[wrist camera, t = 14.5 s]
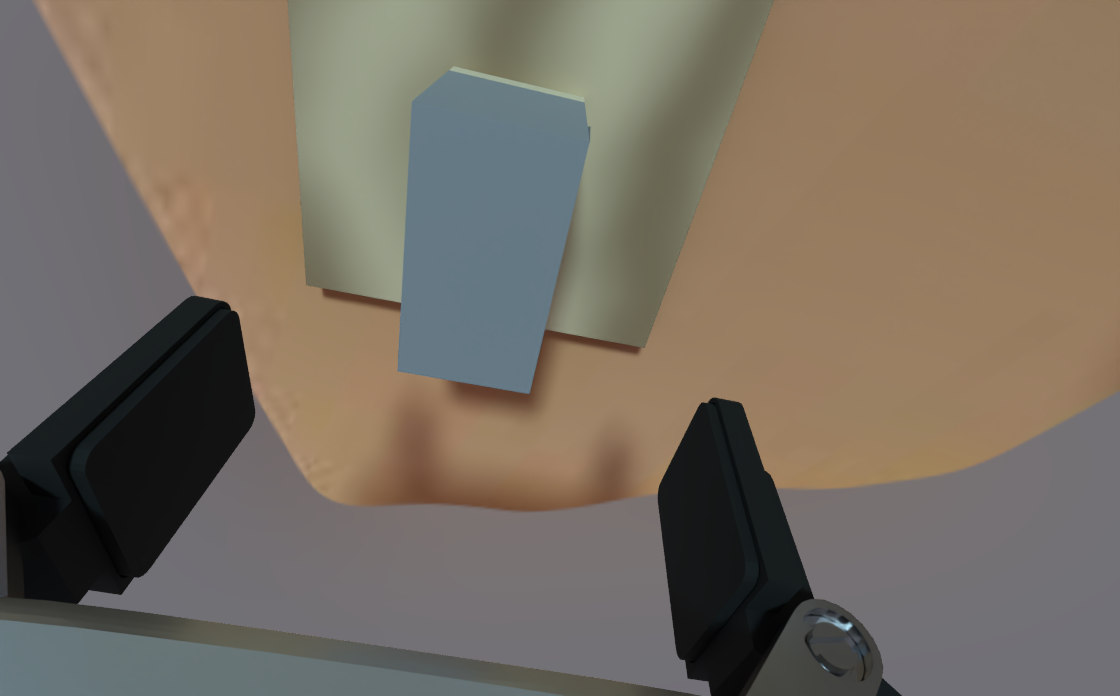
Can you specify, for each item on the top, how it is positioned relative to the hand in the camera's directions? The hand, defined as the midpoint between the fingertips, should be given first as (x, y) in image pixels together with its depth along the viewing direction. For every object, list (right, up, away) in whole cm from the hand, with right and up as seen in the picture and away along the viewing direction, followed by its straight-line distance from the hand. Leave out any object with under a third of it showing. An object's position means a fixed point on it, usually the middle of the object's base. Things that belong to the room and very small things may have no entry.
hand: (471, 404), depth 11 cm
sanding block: (0, +6, +8) cm, 10 cm away
